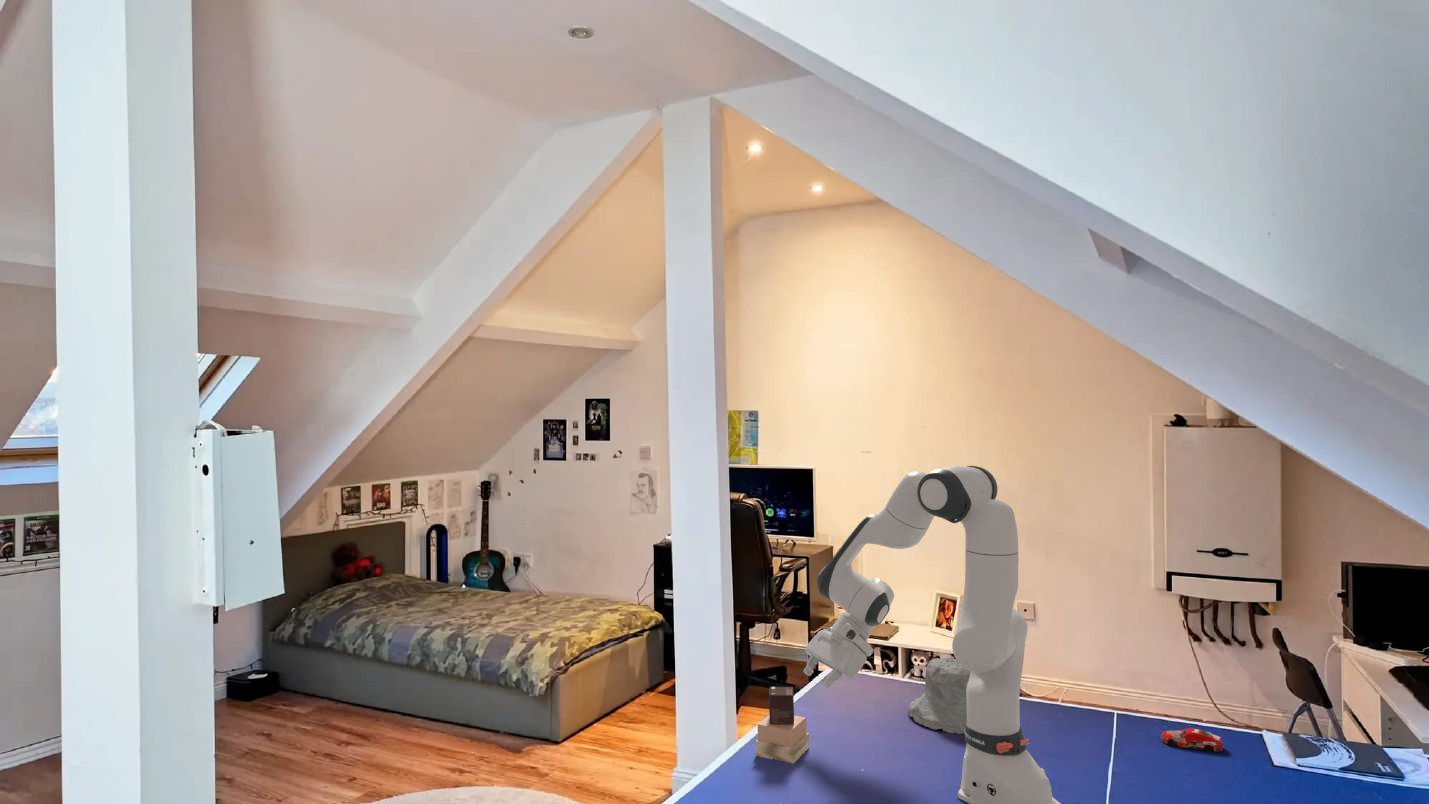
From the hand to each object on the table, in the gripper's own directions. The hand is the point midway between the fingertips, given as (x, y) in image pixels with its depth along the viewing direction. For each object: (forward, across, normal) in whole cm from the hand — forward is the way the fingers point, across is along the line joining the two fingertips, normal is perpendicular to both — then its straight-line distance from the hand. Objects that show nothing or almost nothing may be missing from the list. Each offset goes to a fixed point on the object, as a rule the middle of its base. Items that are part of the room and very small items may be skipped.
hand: (815, 679), depth 209 cm
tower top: (+16, 0, +2) cm, 16 cm away
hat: (-18, +1, +42) cm, 46 cm away
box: (+13, 0, 0) cm, 13 cm away
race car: (-46, +40, +70) cm, 93 cm away
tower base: (+19, 0, +5) cm, 19 cm away
